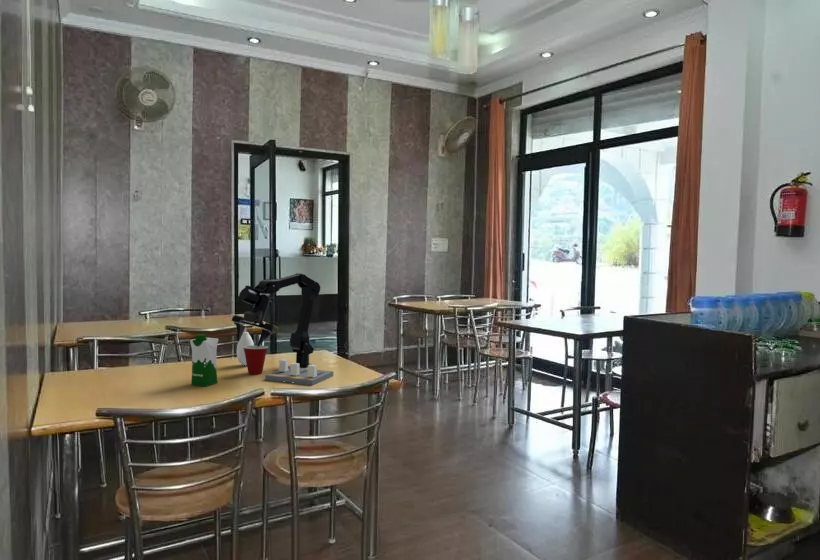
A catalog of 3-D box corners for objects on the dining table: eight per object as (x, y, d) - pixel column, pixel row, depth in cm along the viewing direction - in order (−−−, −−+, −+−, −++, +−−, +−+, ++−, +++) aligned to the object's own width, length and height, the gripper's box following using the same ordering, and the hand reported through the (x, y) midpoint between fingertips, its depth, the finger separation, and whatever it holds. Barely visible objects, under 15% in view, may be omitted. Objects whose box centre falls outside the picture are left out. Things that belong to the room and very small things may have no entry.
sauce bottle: (233, 366, 257) (233, 327, 256) (244, 363, 264) (244, 324, 263) (247, 367, 254) (247, 328, 253) (258, 364, 261) (258, 326, 260)
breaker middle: (293, 373, 235) (293, 362, 235) (300, 374, 234) (300, 363, 234) (289, 374, 232) (290, 363, 232) (296, 375, 231) (296, 364, 231)
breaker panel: (288, 371, 249) (288, 366, 249) (333, 375, 242) (333, 371, 242) (265, 380, 232) (265, 375, 232) (312, 385, 225) (312, 380, 225)
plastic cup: (271, 370, 249) (272, 344, 248) (263, 376, 238) (263, 348, 238) (248, 369, 250) (248, 343, 249) (238, 375, 239) (238, 347, 239)
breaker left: (310, 375, 232) (310, 364, 232) (317, 376, 231) (317, 364, 231) (307, 376, 229) (307, 365, 229) (313, 377, 228) (313, 366, 228)
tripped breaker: (282, 369, 241) (282, 359, 241) (288, 370, 240) (288, 359, 240) (278, 371, 239) (278, 360, 238) (284, 371, 238) (284, 361, 237)
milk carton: (187, 385, 221) (187, 334, 220) (203, 380, 230) (203, 331, 229) (206, 387, 218) (206, 336, 217) (221, 382, 227) (221, 333, 226)
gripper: (232, 298, 233) (219, 334, 230) (273, 308, 230) (261, 345, 226) (243, 305, 244) (230, 339, 240) (282, 314, 241) (271, 350, 237)
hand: (248, 343), depth 236 cm, fingers open, 9 cm apart
